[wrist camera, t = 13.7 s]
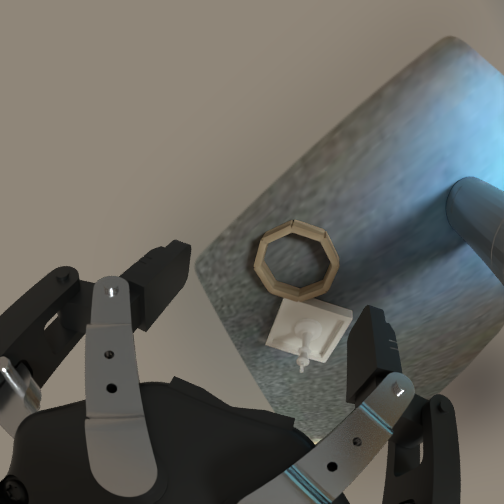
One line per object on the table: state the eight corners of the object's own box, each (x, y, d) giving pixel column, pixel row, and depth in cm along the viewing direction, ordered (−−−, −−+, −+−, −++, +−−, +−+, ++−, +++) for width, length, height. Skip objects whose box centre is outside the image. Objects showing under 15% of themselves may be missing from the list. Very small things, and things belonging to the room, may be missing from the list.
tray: (352, 310, 43) (352, 318, 42) (325, 354, 49) (324, 362, 47) (286, 289, 45) (284, 296, 43) (267, 336, 51) (265, 344, 49)
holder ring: (347, 237, 38) (348, 244, 36) (320, 300, 44) (319, 309, 42) (270, 211, 40) (266, 217, 38) (252, 277, 46) (248, 285, 43)
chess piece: (294, 338, 48) (285, 380, 39) (294, 317, 46) (284, 360, 37) (321, 339, 47) (316, 382, 38) (322, 318, 44) (318, 362, 36)
